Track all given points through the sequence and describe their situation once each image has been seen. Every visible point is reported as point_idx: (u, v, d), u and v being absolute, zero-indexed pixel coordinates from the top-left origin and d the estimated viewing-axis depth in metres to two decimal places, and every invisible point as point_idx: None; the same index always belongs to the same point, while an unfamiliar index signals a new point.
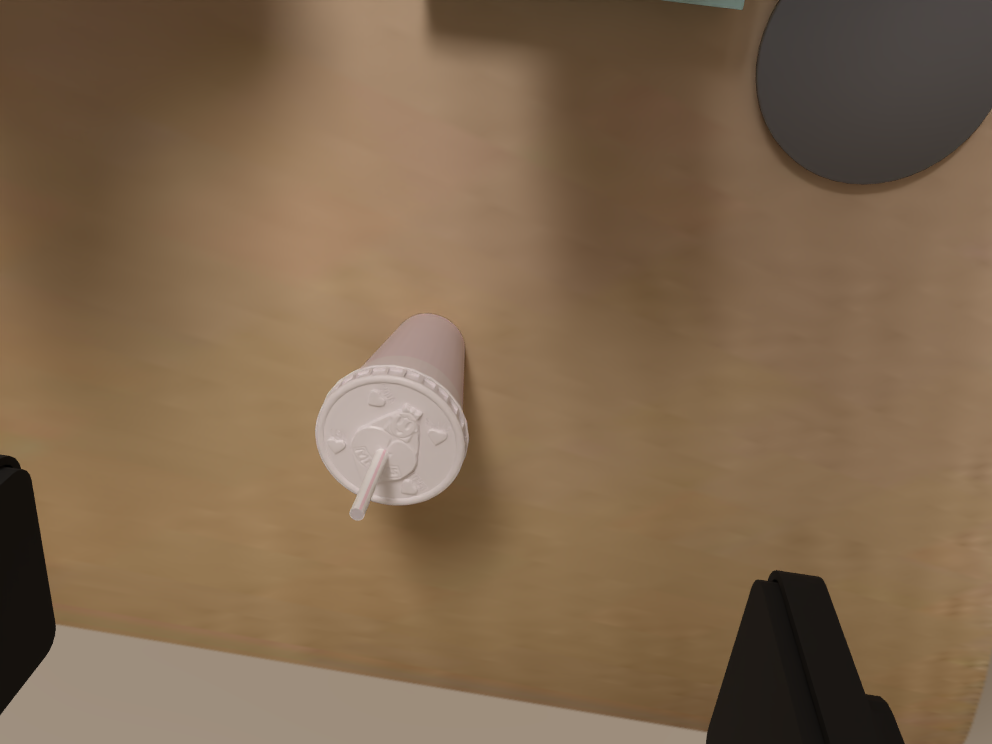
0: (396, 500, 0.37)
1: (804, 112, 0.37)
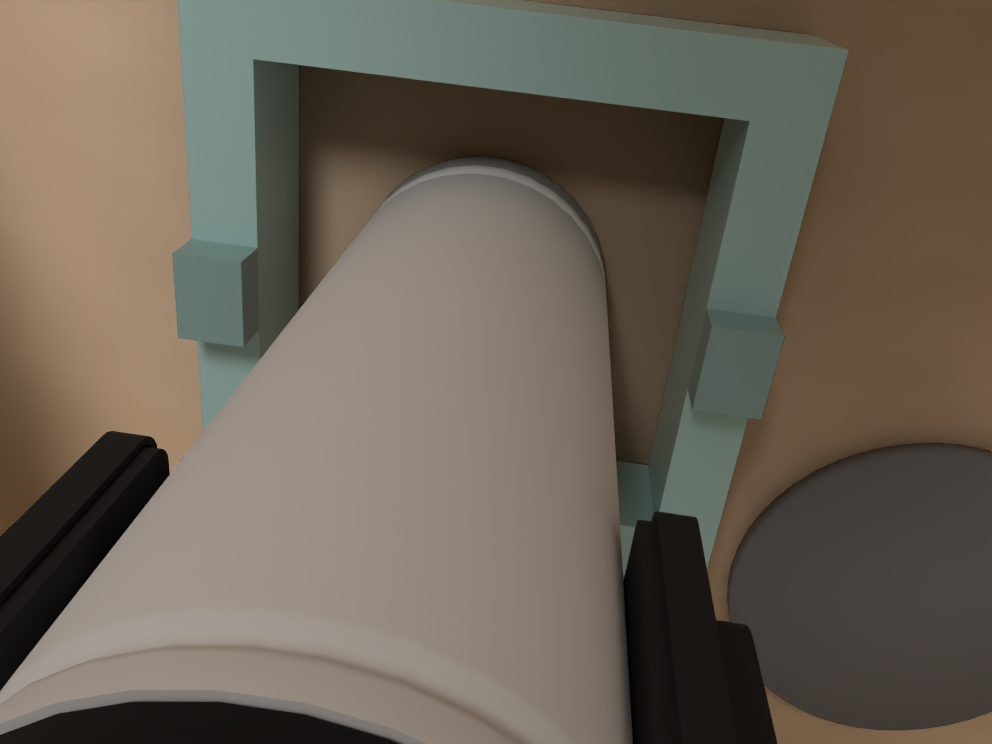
0: None
1: (796, 649, 0.26)
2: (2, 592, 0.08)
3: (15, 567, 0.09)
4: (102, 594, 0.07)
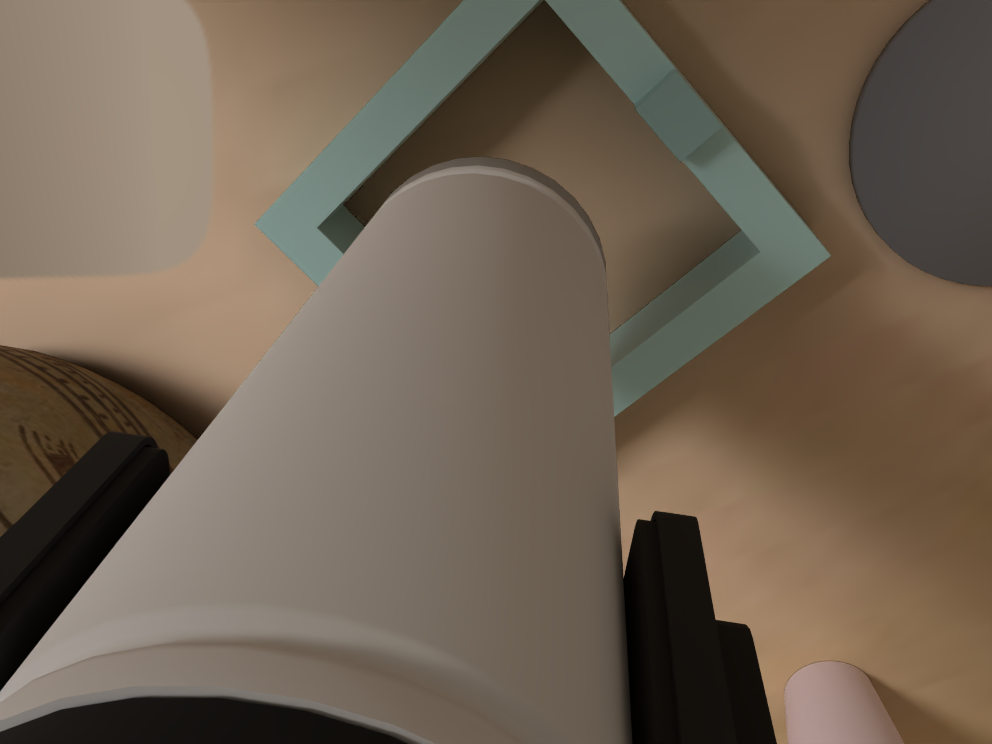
0: None
1: (986, 241, 0.28)
2: (3, 592, 0.08)
3: (16, 567, 0.09)
4: (106, 592, 0.07)
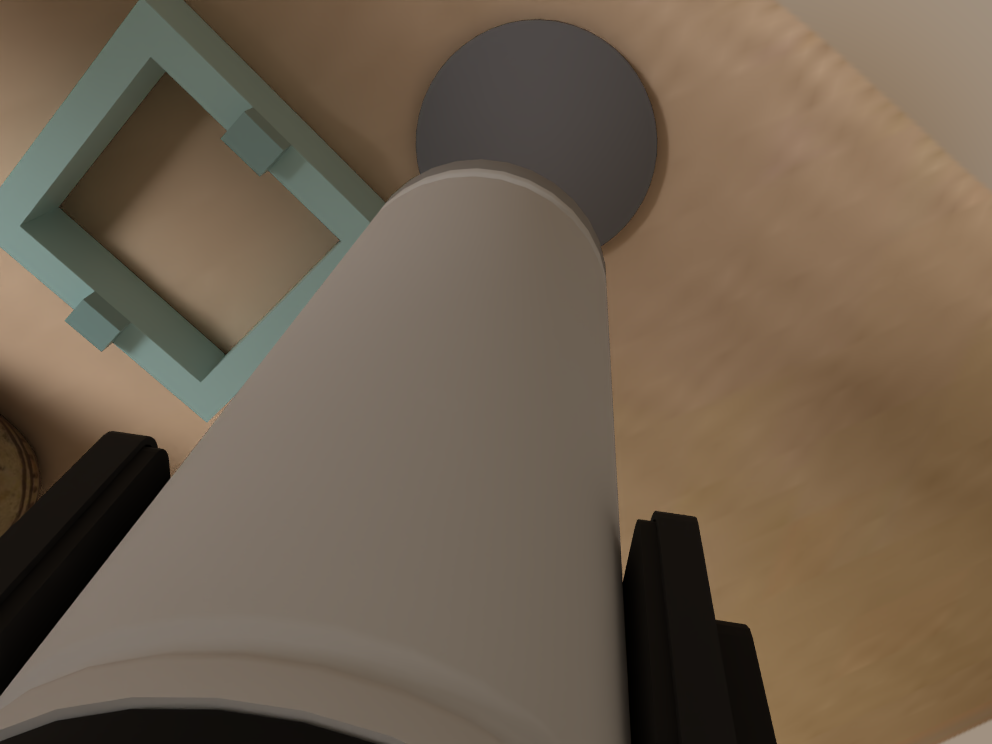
0: None
1: None
2: (3, 592, 0.08)
3: (16, 567, 0.09)
4: (102, 601, 0.07)
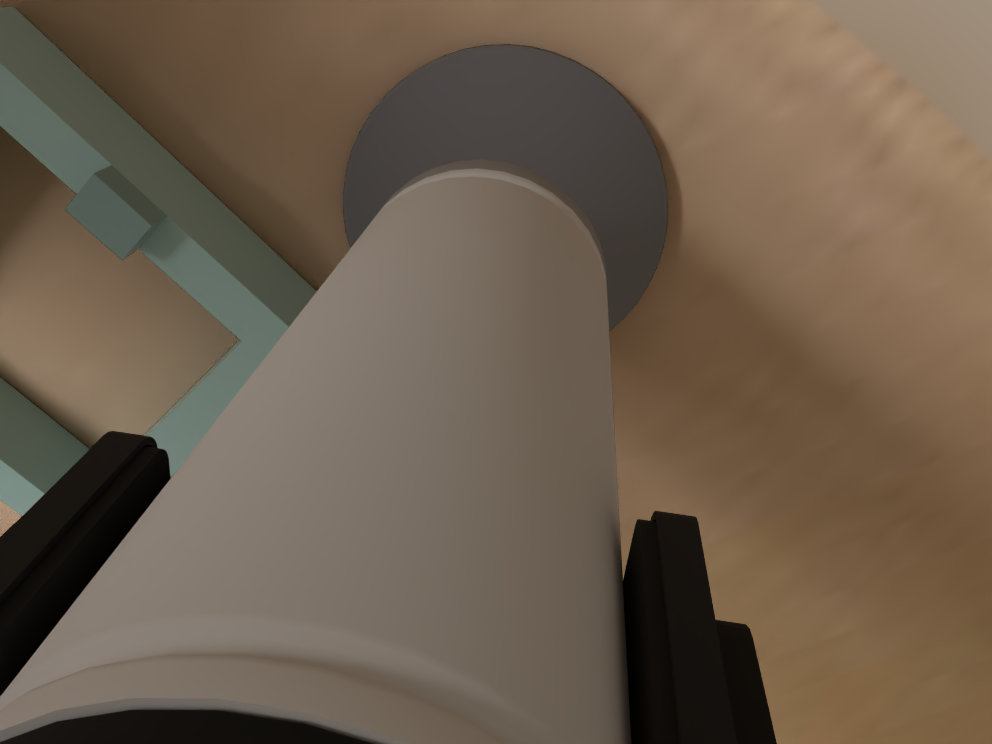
0: None
1: None
2: (3, 591, 0.08)
3: (16, 566, 0.09)
4: (102, 601, 0.07)
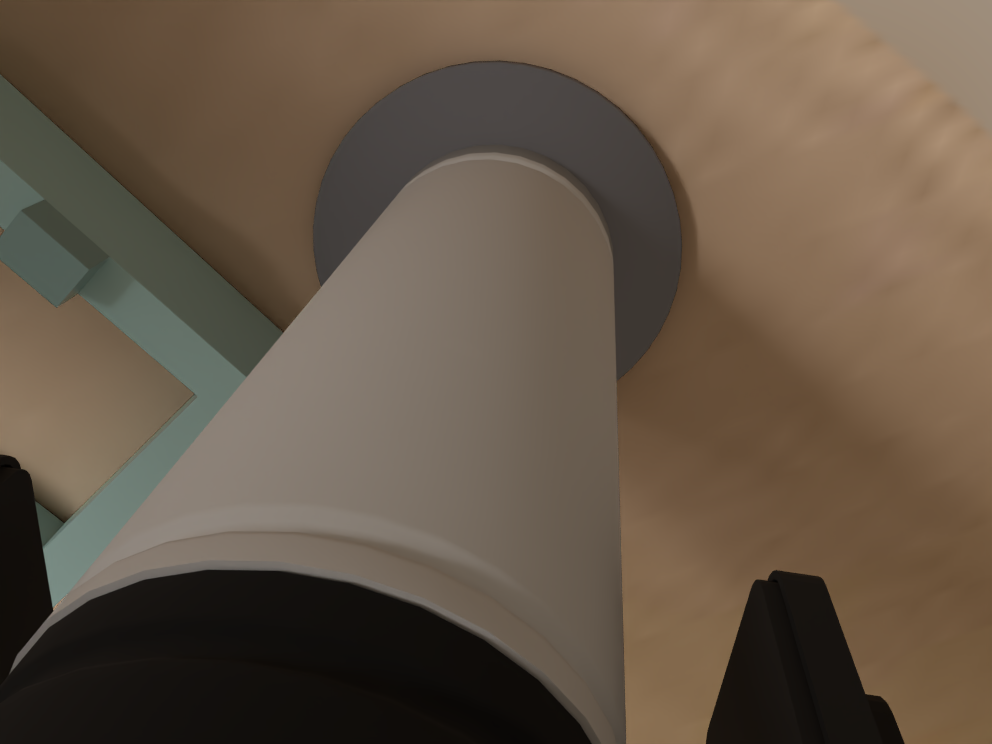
0: None
1: None
2: None
3: None
4: (172, 496, 0.09)
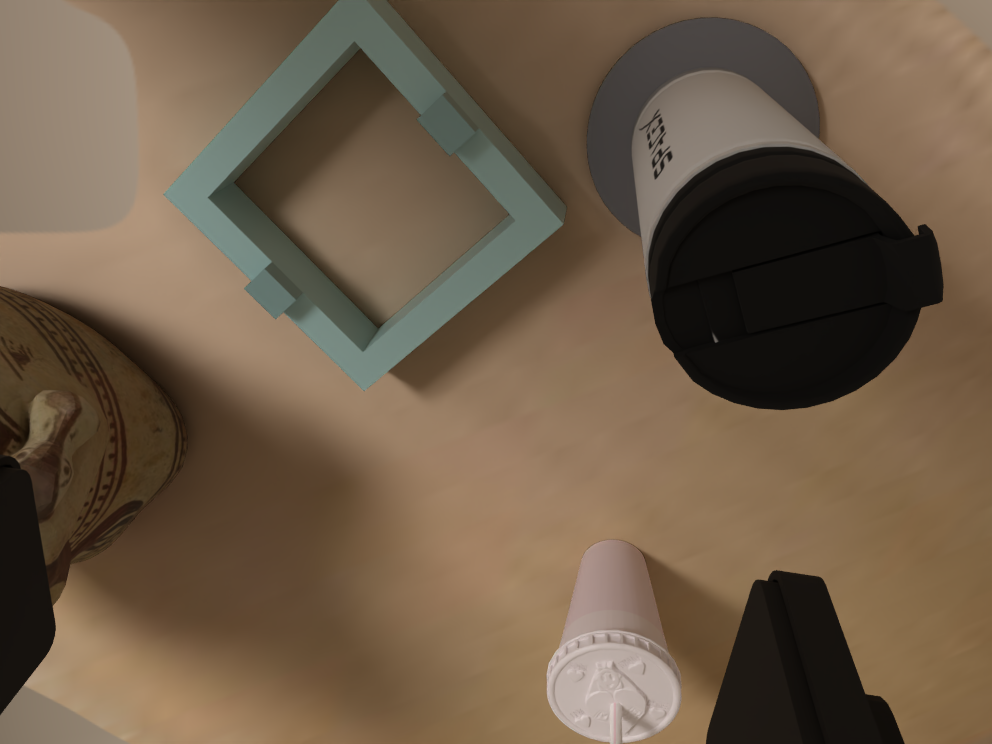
0: (658, 727, 0.41)
1: None
2: None
3: None
4: (715, 146, 0.23)
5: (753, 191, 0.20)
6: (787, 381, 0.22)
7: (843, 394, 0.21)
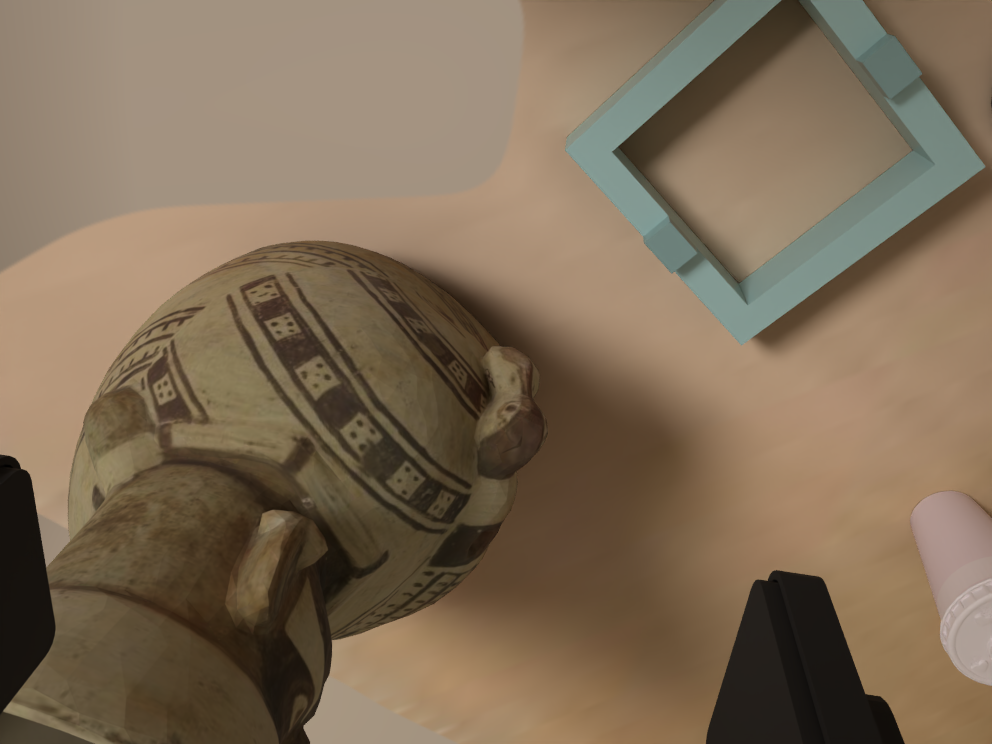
0: None
1: None
2: None
3: None
4: None
5: None
6: None
7: None
